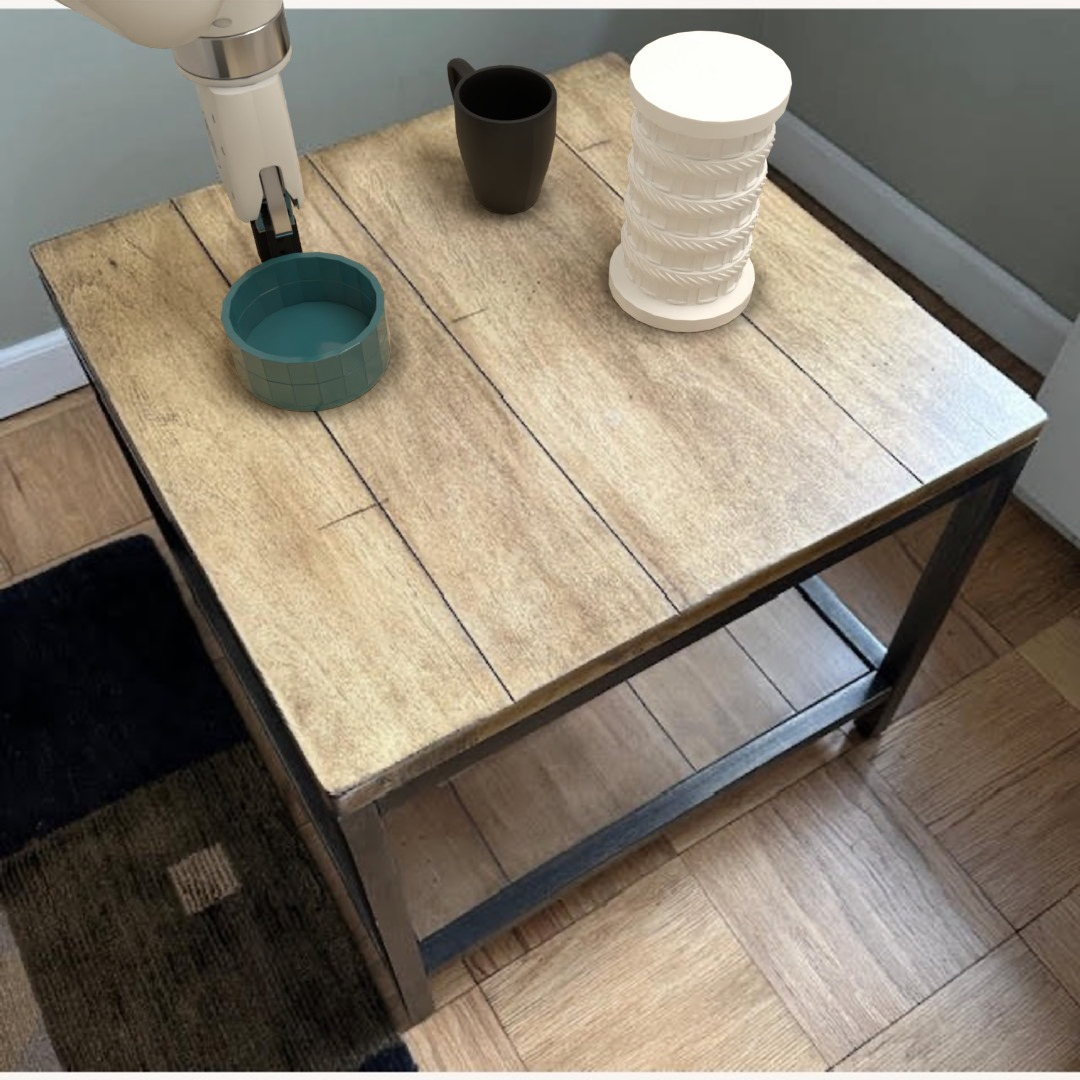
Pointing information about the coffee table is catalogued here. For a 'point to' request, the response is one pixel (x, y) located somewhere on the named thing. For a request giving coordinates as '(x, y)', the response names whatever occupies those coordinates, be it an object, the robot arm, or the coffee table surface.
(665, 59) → the decorative container
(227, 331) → the bowl
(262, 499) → the coffee table surface
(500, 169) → the mug
